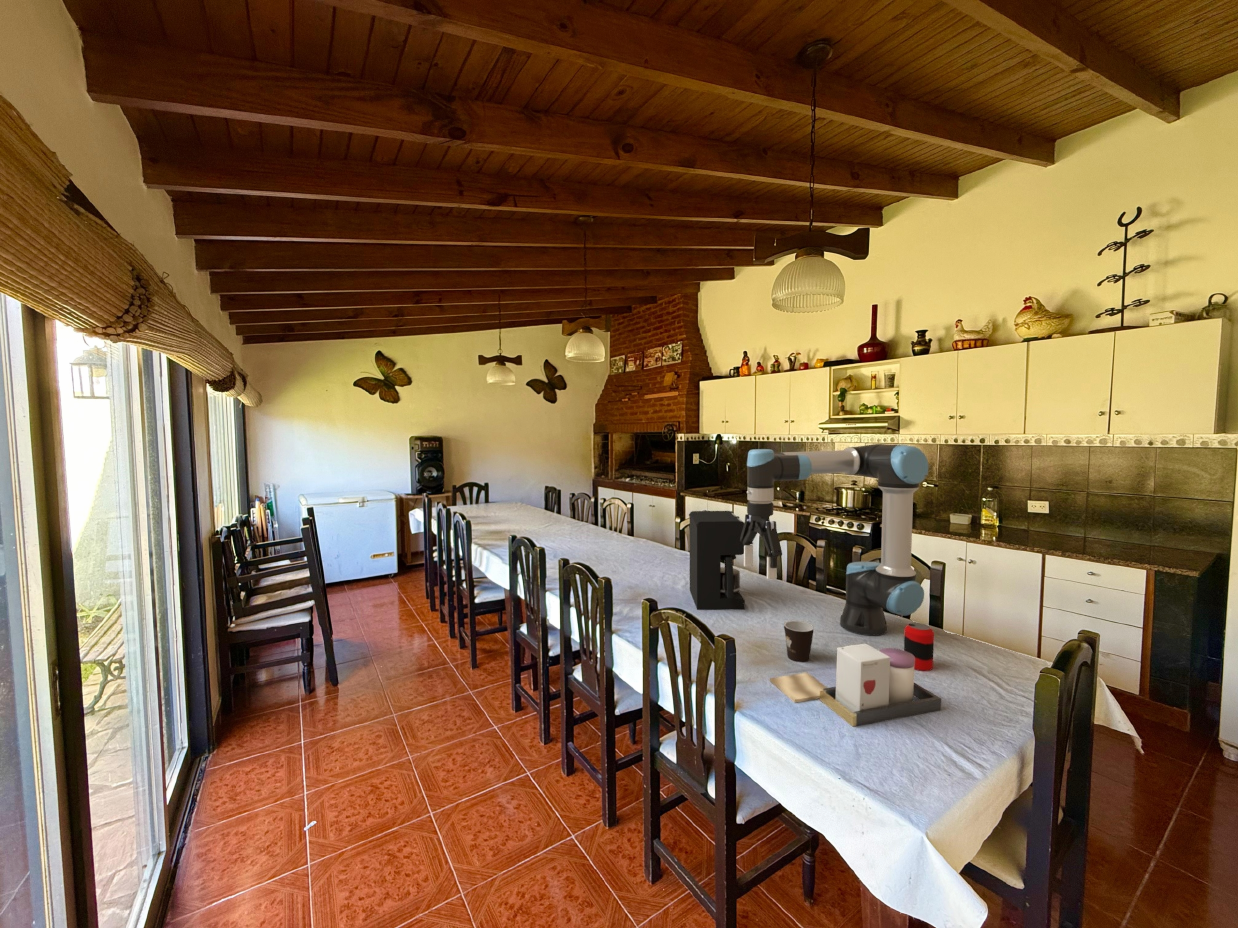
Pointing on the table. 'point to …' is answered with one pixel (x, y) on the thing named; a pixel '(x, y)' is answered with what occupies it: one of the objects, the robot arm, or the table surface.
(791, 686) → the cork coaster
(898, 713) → the grey tray
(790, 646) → the coffee mug
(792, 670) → the table surface
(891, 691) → the cream lidded canister
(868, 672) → the supplement box
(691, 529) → the coffee maker
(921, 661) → the soda can
